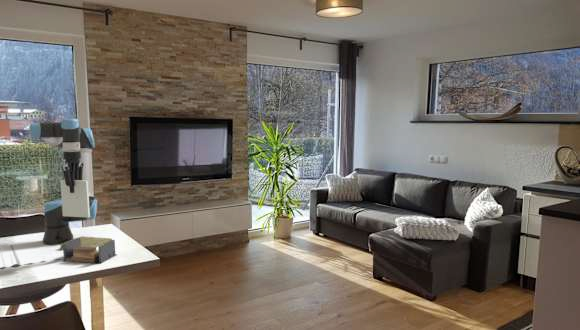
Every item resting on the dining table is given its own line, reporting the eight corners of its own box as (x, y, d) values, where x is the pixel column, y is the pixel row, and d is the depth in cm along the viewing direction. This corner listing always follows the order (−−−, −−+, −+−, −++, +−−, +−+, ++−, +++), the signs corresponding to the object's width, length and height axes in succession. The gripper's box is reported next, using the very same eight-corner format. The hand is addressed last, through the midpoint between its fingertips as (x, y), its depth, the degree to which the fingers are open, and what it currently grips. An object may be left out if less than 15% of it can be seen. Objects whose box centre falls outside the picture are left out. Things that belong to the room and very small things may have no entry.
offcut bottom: (79, 257, 206) (78, 253, 206) (101, 258, 204) (100, 254, 204) (71, 261, 201) (71, 256, 201) (94, 262, 199) (93, 258, 199)
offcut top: (79, 249, 205) (79, 245, 205) (96, 250, 204) (96, 246, 203) (73, 252, 201) (73, 248, 201) (90, 253, 199) (90, 249, 199)
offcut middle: (80, 253, 206) (80, 249, 206) (100, 255, 204) (100, 251, 203) (73, 256, 201) (73, 252, 201) (94, 258, 199) (93, 254, 199)
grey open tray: (81, 241, 240) (80, 235, 240) (112, 243, 236) (112, 237, 236) (56, 251, 222) (56, 245, 222) (90, 254, 218) (90, 247, 218)
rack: (82, 255, 215) (81, 236, 214) (118, 257, 211) (117, 238, 210) (62, 264, 201) (61, 244, 200) (100, 267, 197) (98, 247, 196)
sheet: (64, 215, 210) (61, 179, 208) (90, 216, 208) (87, 180, 206) (62, 216, 209) (60, 180, 207) (88, 217, 207) (86, 181, 204)
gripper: (68, 152, 197) (72, 202, 200) (88, 149, 211) (91, 196, 214) (54, 152, 198) (58, 201, 201) (74, 149, 212) (77, 195, 215)
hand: (75, 198), depth 207 cm, fingers closed on sheet
